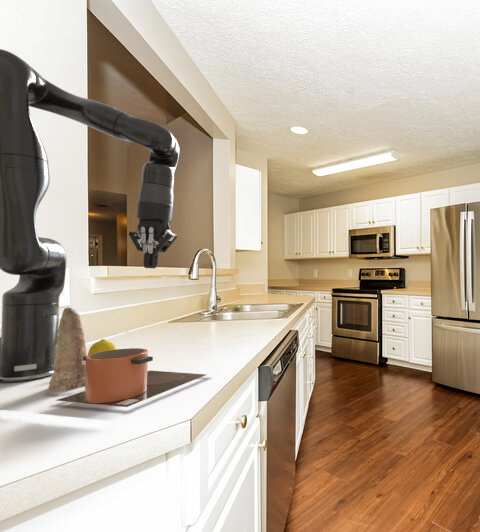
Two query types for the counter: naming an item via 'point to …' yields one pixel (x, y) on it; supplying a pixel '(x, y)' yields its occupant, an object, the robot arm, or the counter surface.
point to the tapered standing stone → (69, 353)
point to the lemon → (101, 347)
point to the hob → (155, 386)
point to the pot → (116, 375)
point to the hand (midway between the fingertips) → (150, 268)
